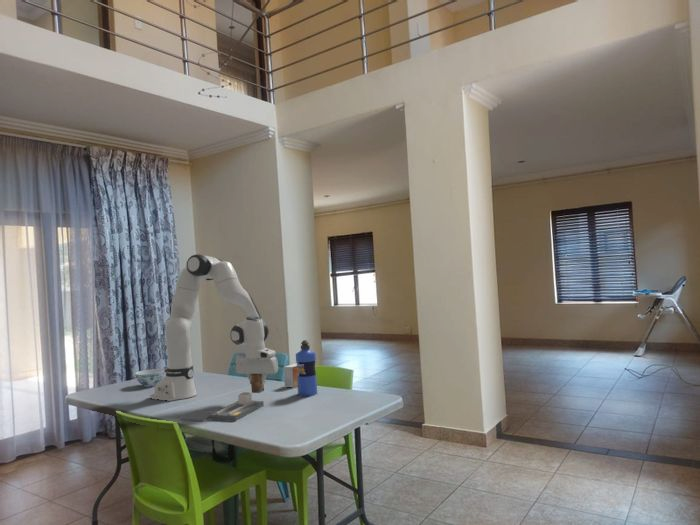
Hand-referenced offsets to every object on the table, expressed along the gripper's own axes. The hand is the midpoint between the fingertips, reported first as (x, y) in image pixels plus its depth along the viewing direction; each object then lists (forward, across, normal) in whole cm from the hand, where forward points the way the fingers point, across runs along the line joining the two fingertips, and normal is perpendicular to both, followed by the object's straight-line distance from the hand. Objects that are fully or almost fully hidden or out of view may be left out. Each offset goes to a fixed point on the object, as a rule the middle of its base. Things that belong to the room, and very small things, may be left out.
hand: (257, 383), depth 220 cm
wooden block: (+4, 0, 0) cm, 4 cm away
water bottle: (+9, +17, +16) cm, 25 cm away
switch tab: (+6, 0, -10) cm, 12 cm away
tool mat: (+8, -14, -24) cm, 29 cm away
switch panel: (+8, 0, -16) cm, 18 cm away
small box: (+9, +3, +30) cm, 32 cm away
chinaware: (+8, -80, +23) cm, 84 cm away
